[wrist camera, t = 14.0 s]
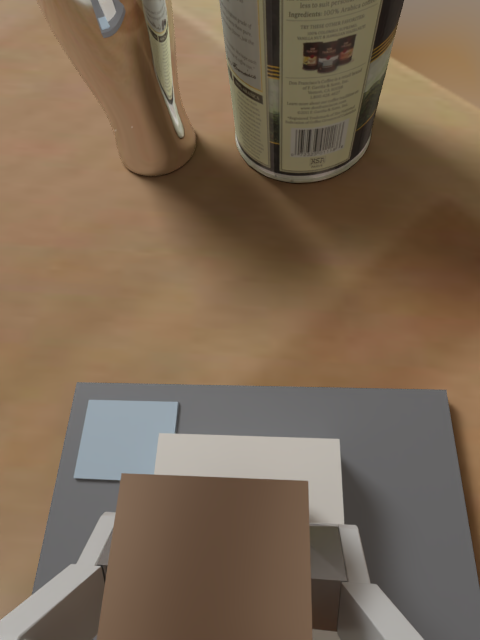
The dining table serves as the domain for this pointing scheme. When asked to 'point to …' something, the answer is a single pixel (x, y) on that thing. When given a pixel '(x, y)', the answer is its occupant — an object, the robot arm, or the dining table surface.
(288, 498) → the walnut column
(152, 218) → the dining table surface
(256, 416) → the build base
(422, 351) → the dining table surface
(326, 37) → the coffee can
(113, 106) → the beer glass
